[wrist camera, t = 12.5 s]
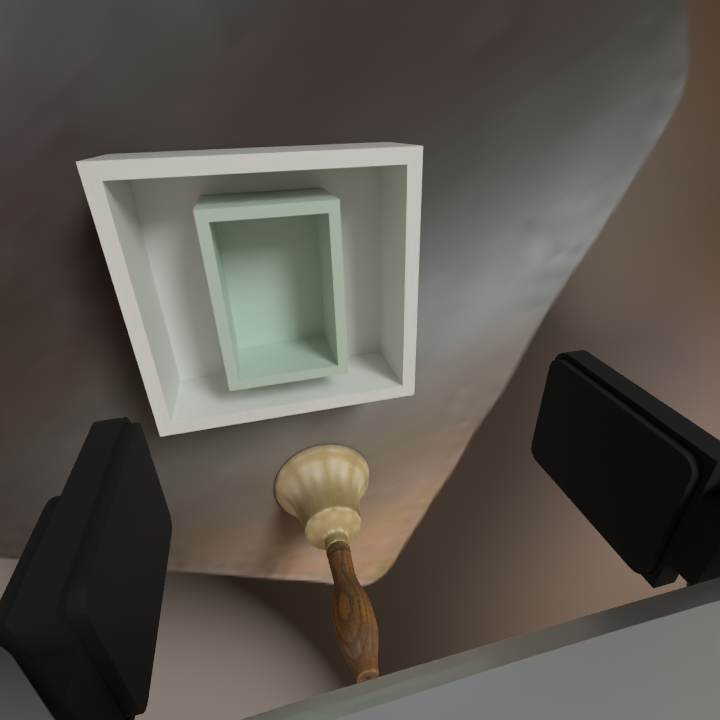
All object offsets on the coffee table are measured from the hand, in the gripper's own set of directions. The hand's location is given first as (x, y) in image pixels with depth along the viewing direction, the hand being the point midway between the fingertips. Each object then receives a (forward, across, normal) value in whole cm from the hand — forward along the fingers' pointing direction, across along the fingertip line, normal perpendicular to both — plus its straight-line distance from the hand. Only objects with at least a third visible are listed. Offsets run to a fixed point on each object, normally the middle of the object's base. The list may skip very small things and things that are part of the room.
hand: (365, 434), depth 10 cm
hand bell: (+21, -2, +22) cm, 30 cm away
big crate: (+21, +1, +3) cm, 21 cm away
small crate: (+20, +1, +3) cm, 20 cm away
